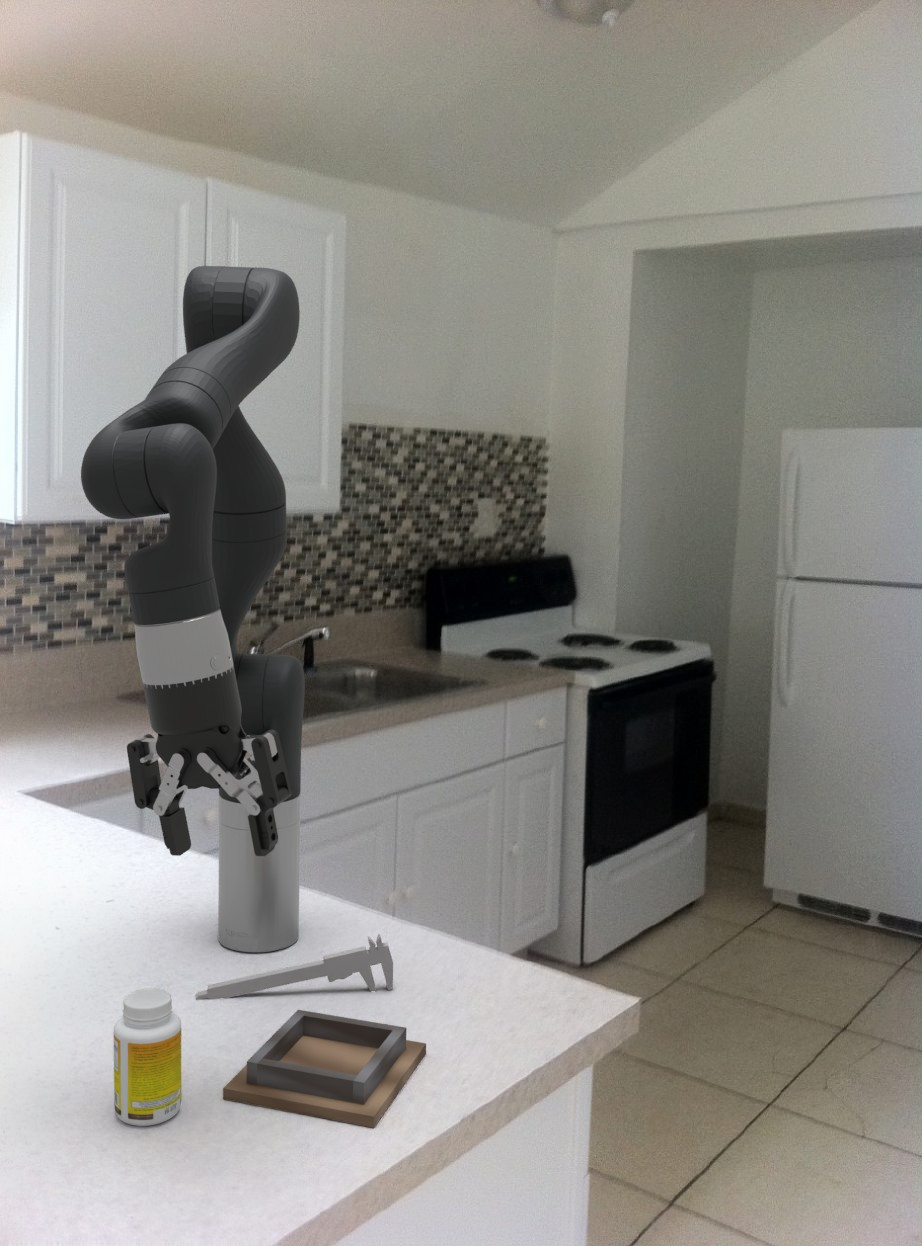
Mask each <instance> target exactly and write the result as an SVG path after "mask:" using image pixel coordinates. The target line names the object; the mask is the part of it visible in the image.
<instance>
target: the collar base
mask: <svg viewBox="0 0 922 1246" xmlns="http://www.w3.org/2000/svg"><path fill="white" fill-rule="evenodd" d="M426 1054H427V1043H425V1042H421V1041H414V1040H409V1039H408V1040H407V1027H405V1026H399V1025H394V1024H393V1025H392V1024H387V1023H382V1022H374V1021H368V1020H362V1019H357V1018H351V1017H345V1016H339V1015H332V1014H326V1013H321V1012H315V1011H314V1012H313V1011H311V1010H310V1011H308V1010H303V1009H297V1010H296V1011H295V1012H294V1013H293V1014H292V1015H291V1016H290V1017H289V1018H288V1019H287V1020H286V1021H285V1022H284V1023H283V1024H282V1025H281V1026H280V1027H279V1028H278V1029H277V1030H276V1031H275V1032H274V1033H273V1034H272V1035H271V1036H270V1037H269V1038H268V1039H267V1040H266V1041H265V1042H264V1043H263V1044H262V1046H261V1047H259V1049H258V1050H257V1051H256V1052H254V1053H253V1054H252V1055H251V1056H250V1057H249V1058H248V1059H247V1061H246V1064H245V1065H244V1066H243V1068H241V1069H240V1070H239V1071H238V1072H237V1074H235V1075H234V1076H233V1077H232V1078H231V1080H229V1081H228V1083H226V1085H224V1086H223V1088H222V1099H223V1100H227V1101H232V1102H237V1103H242V1104H247V1105H253V1106H257V1107H264V1108H268V1109H273V1110H278V1111H284V1112H289V1113H294V1114H299V1115H306V1116H310V1117H316V1118H320V1119H326V1120H331V1121H335V1122H341V1123H347V1124H352V1125H357V1126H363V1127H368V1128H372V1129H373V1128H375V1127H376V1125H377V1124H378V1123H379V1121H380V1119H382V1117H383V1116H384V1114H385V1113H386V1111H388V1108H389V1107H390V1105H391V1104H392V1103H393V1101H394V1100H395V1098H396V1097H397V1095H398V1094H399V1093H400V1091H401V1090H402V1088H403V1087H404V1085H406V1083H407V1082H408V1080H409V1078H410V1077H411V1075H412V1074H413V1072H414V1071H415V1070H416V1069H417V1067H418V1066H419V1065H420V1062H421V1061H422V1060H423V1058H424V1057H425V1055H426Z"/></svg>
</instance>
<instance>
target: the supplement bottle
mask: <svg viewBox="0 0 922 1246" xmlns="http://www.w3.org/2000/svg"><path fill="white" fill-rule="evenodd" d="M172 998H173V997H172V994H171V993H170V992H168V991H167V990H166V989H160V988H156V987H155V988H152V987H150V988H149V987H148V988H142V989H137V990H134V991H131V992H130V993H128V994H126V995H125V997H123V1001H122V1005H123V1006H122V1015H121V1016H120V1017H119V1018H117V1020H116V1021H115V1023H114V1025H113V1091H114V1092H113V1094H114V1095H113V1096H114V1097H113V1098H114V1112H115V1115H116V1117H117V1118H118V1119H119V1120H121V1122H123V1123H125V1124H128V1125H131V1126H138V1127H139V1126H140V1127H147V1126H155V1125H159V1124H162V1123H164V1122H167V1121H169V1120H170V1119H172V1118H174V1116H175V1115H177V1113H179V1111H180V1109H181V1106H182V1097H183V1096H182V1094H183V1093H182V1092H183V1091H182V1022H181V1018H180V1017H179V1016H178V1014H177V1013H176V1012H174V1011H172V1010H173V1005H172V1003H173V1002H172Z"/></svg>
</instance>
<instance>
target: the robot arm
mask: <svg viewBox="0 0 922 1246" xmlns="http://www.w3.org/2000/svg"><path fill="white" fill-rule="evenodd" d="M183 288H184V289H183V296H182V323H183V332H184V340H185V348H186V349H185V350H186V351H185V352H186V354H184V355H182V356H180V357H179V358H177V359H176V360H175V361H174V362H172V363H171V364H170V365H169V366H167V367H166V369H165V370H164V371H163V372H162V374H161V375H160V376H159V378H158V379H157V381H156V382H155V384H154V385H153V387H152V388H151V390H150V391H149V392H148V394H147V395H146V397H145V398H144V399H143V400H142V401H140V402H139V403H137V404H136V405H134V406H132V407H130V408H129V409H128V410H126V411H125V412H123V413H122V414H121V415H119V416H117V417H116V418H115V419H114V420H112V421H110V422H109V423H108V424H107V425H105V427H103V428H102V429H101V430H100V431H99V432H98V433H96V435H95V436H94V437H93V438H92V439H91V441H90V442H89V444H88V446H87V448H86V450H85V452H84V455H83V458H82V463H81V467H80V480H81V481H80V482H81V487H82V491H83V493H84V495H85V497H86V500H87V501H88V502H89V504H90V505H91V506H92V507H93V509H95V510H96V511H97V512H98V513H100V514H102V515H103V516H105V517H108V518H110V519H113V520H114V519H115V520H130V519H131V520H133V519H140V518H147V517H155V516H161V515H167V514H168V515H169V522H168V527H167V531H166V534H165V536H164V538H163V540H161V541H159V542H157V543H153V544H151V545H147V546H145V547H142V548H139V549H137V550H135V551H133V552H131V553H129V555H128V556H127V557H126V558H125V562H124V568H123V570H124V579H125V582H126V583H125V584H126V588H127V595H128V598H129V599H128V600H129V604H130V609H131V614H132V619H133V623H134V630H135V631H134V633H135V646H136V647H135V648H136V654H137V660H138V666H139V672H140V675H141V681H142V685H143V691H144V695H145V702H146V707H147V711H148V715H149V720H150V722H149V723H150V726H151V729H152V731H153V732H155V733H156V734H157V738H155V737H154V735H152V734H149V733H147V734H144V735H143V736H139V737H138V738H136V739H134V740H133V741H131V742H129V743H128V744H127V746H126V753H127V759H128V766H129V772H130V773H129V774H130V779H131V785H132V791H133V799H134V804H135V806H136V807H137V808H138V809H140V810H143V809H146V808H148V809H149V810H152V811H153V813H155V815H157V816H158V817H159V822H160V828H161V831H162V836H163V842H164V845H165V847H166V849H167V850H168V851H169V854H170V855H171V856H173V857H174V856H175V857H176V856H177V857H180V856H182V855H183V854H185V853H186V852H188V851H189V850H190V849H191V847H192V841H191V836H190V831H189V825H188V820H187V816H186V810H185V807H180V805H181V803H182V801H183V799H184V797H185V794H186V793H187V791H188V790H196V789H199V788H202V787H204V788H207V789H212V790H213V789H214V790H215V789H216V790H217V789H218V907H217V908H218V912H217V913H218V914H217V915H218V918H217V921H218V925H217V926H218V927H217V928H218V929H217V930H218V931H217V933H218V934H217V935H218V936H217V938H218V942H219V943H220V945H222V946H224V947H225V948H227V949H230V950H233V951H238V952H244V953H267V952H273V951H278V950H282V949H284V948H285V949H286V948H287V947H290V946H291V945H294V944H295V943H296V941H298V940H299V935H300V933H299V931H300V929H299V928H300V925H299V924H300V923H299V921H300V876H301V875H300V874H301V873H300V870H301V869H300V868H301V867H300V865H301V864H300V862H301V796H302V795H301V790H302V789H301V785H302V781H301V777H302V776H301V774H302V773H301V771H302V770H301V769H302V767H301V766H302V761H301V760H302V738H303V720H304V711H305V710H304V708H305V695H306V694H305V693H306V692H305V691H306V690H305V689H306V682H305V671H304V667H303V664H302V663H301V661H300V659H299V658H297V657H296V656H293V655H286V654H268V653H267V654H265V653H264V654H263V653H261V654H260V653H239V651H238V648H237V647H238V646H237V645H238V636H239V631H240V629H241V626H242V624H243V621H245V620H244V619H245V618H246V615H247V614H248V612H249V611H250V610H249V609H250V608H251V606H252V604H253V603H254V601H255V599H256V598H257V596H258V594H259V593H260V592H261V590H262V589H263V588H264V586H265V584H266V583H267V581H268V580H269V579H270V577H271V576H272V574H273V572H274V571H275V570H276V567H277V566H278V565H279V563H280V561H281V559H282V557H283V555H284V552H285V550H286V547H287V541H288V525H287V523H288V521H287V491H286V485H285V482H284V480H283V476H282V474H281V472H280V470H279V469H278V466H277V464H276V463H275V462H274V460H273V459H272V457H271V455H270V454H269V452H268V450H267V449H266V448H265V447H264V445H263V443H262V441H261V440H260V439H259V437H258V436H257V434H256V433H255V431H254V430H253V428H251V426H250V424H249V423H248V421H247V419H246V418H245V416H244V414H243V412H242V410H241V408H240V404H241V403H242V402H243V401H244V400H245V399H246V398H247V397H248V396H249V395H250V394H251V393H252V392H253V391H254V390H255V389H256V388H257V387H258V386H259V385H260V384H262V382H263V381H265V380H267V378H268V377H269V376H270V375H271V374H272V373H273V371H275V370H276V369H277V368H278V367H279V366H281V364H282V363H284V362H285V360H286V359H287V358H288V356H289V355H290V354H291V352H292V350H293V348H294V346H295V343H296V341H297V339H298V333H299V328H300V318H301V317H300V316H301V315H300V314H301V313H300V302H299V301H300V300H299V294H298V290H297V287H296V285H295V282H294V281H293V279H292V277H291V276H289V275H288V274H287V273H286V272H284V271H281V270H278V269H275V268H269V267H257V266H255V267H253V266H252V267H249V266H247V267H246V266H226V265H224V266H223V265H222V266H221V265H215V266H214V265H200V266H196V267H194V268H192V269H191V271H189V273H188V275H187V276H186V280H185V283H184V287H183ZM248 753H249V758H246V756H247V754H248ZM159 759H161V761H163V763H164V764H165V765H166V767H167V769H166V772H165V774H164V777H163V778H161V773H160V764H159Z"/></svg>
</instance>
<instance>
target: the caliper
mask: <svg viewBox="0 0 922 1246" xmlns="http://www.w3.org/2000/svg"><path fill="white" fill-rule="evenodd" d="M367 941H368V944H369V948H368V949H367V948H366V946H365V945H364V946H358V947H355V948H350V949H347V950H343V951H337V952H334V953H329V954H324V955H323V957H322V958H323V959H320V960H319V959H318V960H315V961H311V962H306V963H302V964H297V965H293V966H289V967H285V968H284V967H282V968H279V969H275V970H270V971H266V972H261V973H256V974H252V975H247V976H242V977H239V978H234V979H229V980H223V981H220V982H216V983H211V984H207V986H206V987H207V989H204V990H200V991H197V993H196V994H195V1000H196V1001H198V1000H204V999H209V1000H218V999H219V1000H220V998H224V999H230V998H233V997H238V996H242V995H243V996H244V995H246V994H251V993H255V992H260V991H264V990H269V989H273V988H277V987H282V986H287V985H290V984H295V983H299V982H304V981H309V980H314V979H318V978H323V977H327V980H328V983H333V982H335V981H338V980H345V979H347V978H348V977H351V976H352V975H353V974H354V973H359V974H360V975H361V978H363V981H364V982H365V984H366V986H367V987H368V990H369V991H370V992H371V991H375V992H377V991H376V990H377V989H376V983H375V980H374V975H373V972H372V967H373V966H376V965H379V964H381V969H382V972H383V976H384V979H385V984H386V988H387V991H388V990H389V991H391V990H392V988H393V987H394V986H393V985H394V960H393V957H392V955H391V950H390V947H389V943H388V941H387V942H386V941H385V942H383V941H382V937H381V933H378V934H377V937H376V941H374V940H373V939H372V937H370V936H369V935H367ZM375 942H376V944H375ZM371 966H372V967H371ZM375 989H376V990H375Z"/></svg>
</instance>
